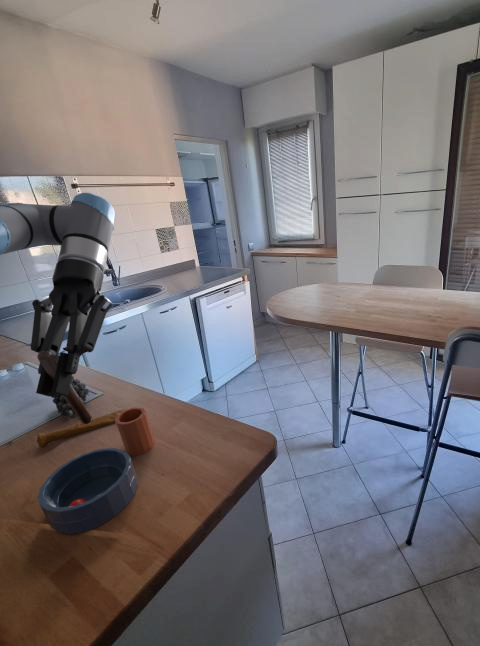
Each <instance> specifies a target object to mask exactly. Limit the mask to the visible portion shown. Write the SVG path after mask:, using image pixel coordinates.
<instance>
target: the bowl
mask: <svg viewBox="0 0 480 646" xmlns="http://www.w3.org/2000/svg"><path fill="white" fill-rule="evenodd" d="M138 482H139V480H138V475H137V473H136V470H135V467H134V464H133V461H132V459H131V455H128V454H127V452H126V451H125V450H123V449H121V448H118V447H105V448H104V447H103V448H97V449H93V450H91V451H88V452H84V453H82V454H80V455H78V456H75V457H73V458H72V459H70V460H68V461H67V462H65V463H63V464H62V465H60V466H59V467H58V468H57V469H56V470H54V471H53V472H52V473H51V474H50V475H49V476H48V477H47V478H46V480H45V481H44V482H43V483H42V485H41V487H40V488H39V491H38V495H37V500H38V504H39V507H40V508H41V510H42V512H43V514H44V516H45V518H46V520H47V522H48V524H49V526H50V528H51V529H53V530H54V531H56V532H57V533H59V534H66V535H74V534H79V533H85V532H89V531H92V530H93V529H96V528H98V527H101V526H103V525H104V524H105V523H107V522H109V521H111V520H112V519H113V518H115V517H117V515H119V513H121V512H122V511H124V509H125V508H126V507H127V506H128V505H129V504H130V502H131V501H132V500H133V498H134V497H135V494H136V492H137V490H138V486H139V483H138ZM77 499H84V500H86V502H84V503H81V504H78V505H76V506H70V507H69V505H70V504H71V503H72V502H73V501H74V500H77Z"/></svg>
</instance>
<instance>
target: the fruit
mask: <svg viewBox="0 0 480 646" xmlns="http://www.w3.org/2000/svg"><path fill="white" fill-rule="evenodd" d="M70 384H71V385H72V387H73V388H74V390H75V391H76V393H77V395H78V396H79V398H80V399H81V401H82V402H83V404H84V405H85V402H86V400H87V395H88V394H89V391H90V389H88V388H86V384H85V383H84V382H81V380H80V379H78V378H76V379H75V377H74V376H73V375H72V379H71V383H70ZM50 397H51V398H53V399H52V403H53V404H55V405H56V409H57V414H59V415H60V416H61V417H64V418H65V419H69V418H70V419H76V418H78V417H77V415H76V414H75V412H74V411H73V409H72V408H71V406H70V405H69V404H68V402H67V401H66V399H65V398H64V396H63V395H59V394H56V393H54V396H50Z"/></svg>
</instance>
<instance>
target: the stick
mask: <svg viewBox="0 0 480 646" xmlns="http://www.w3.org/2000/svg"><path fill="white" fill-rule="evenodd" d="M36 357H37V360H38V362H39V364H40V363H41V364H42V366H43V367H44V369H45V370H46V372H47V373H48V374H49V376H50V377H51V379H52V380H53V382H54V378H55V373H56V369H57V366H58V364H57V362H56V361H55V359H54V358H53V356H52V355H51V353H50V352H48V351H41V352H39V353H37V355H36ZM64 398H65V399H66V401H67V402H68V404H69V405H70V406H71V408H72V409H73V411H74V412H75V414H76V415H77V417H76V418H78V419H79V421H80V423H83V424H88V423H90V422H91V421H92V419H93V416H92V415H91V413H90V411H89V410H88V408H87V406H85V403H84V404H83V402H82V401H81V399H80V398H79V396H78V395H77V393H76V391H75V390H74V388H73V387H72V385H71V384H70V388H69V393H68V395H66V396H64Z"/></svg>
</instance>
